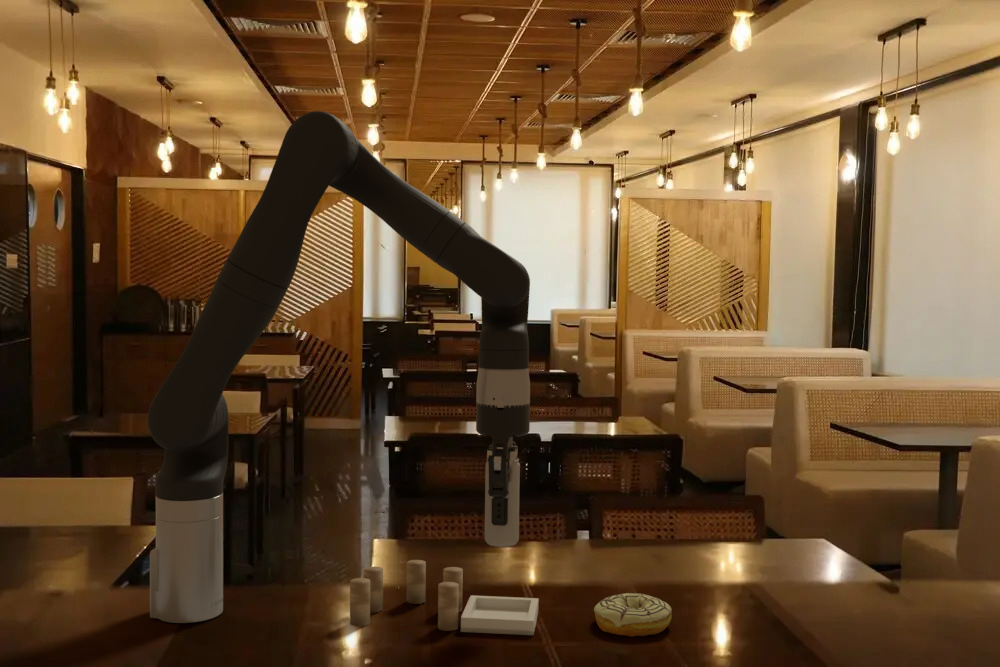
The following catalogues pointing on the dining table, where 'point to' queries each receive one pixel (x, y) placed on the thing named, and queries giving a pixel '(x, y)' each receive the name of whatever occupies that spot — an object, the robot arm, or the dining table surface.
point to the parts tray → (500, 615)
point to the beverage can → (510, 531)
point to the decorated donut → (632, 614)
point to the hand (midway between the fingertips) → (501, 519)
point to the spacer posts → (370, 594)
